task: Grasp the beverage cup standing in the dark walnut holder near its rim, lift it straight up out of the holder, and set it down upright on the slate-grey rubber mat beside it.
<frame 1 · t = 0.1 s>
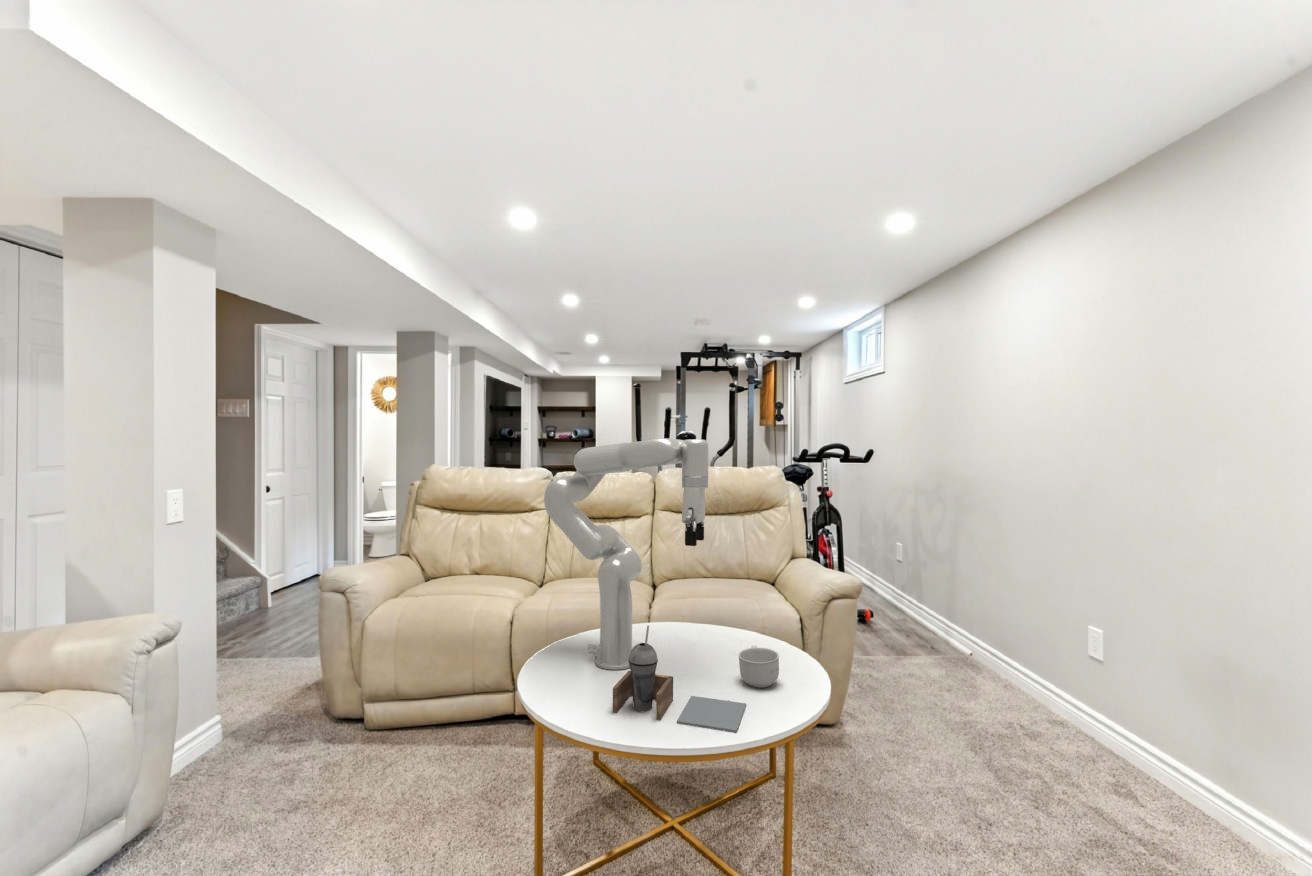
hand: (694, 542, 162), 37 cm above the table, tool pointing down, fingers open, 9 cm apart
beverage cup: (642, 708, 140), on the table
teacup: (758, 681, 156), on the table
slate mat: (712, 714, 136), on the table
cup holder: (642, 707, 140), on the table
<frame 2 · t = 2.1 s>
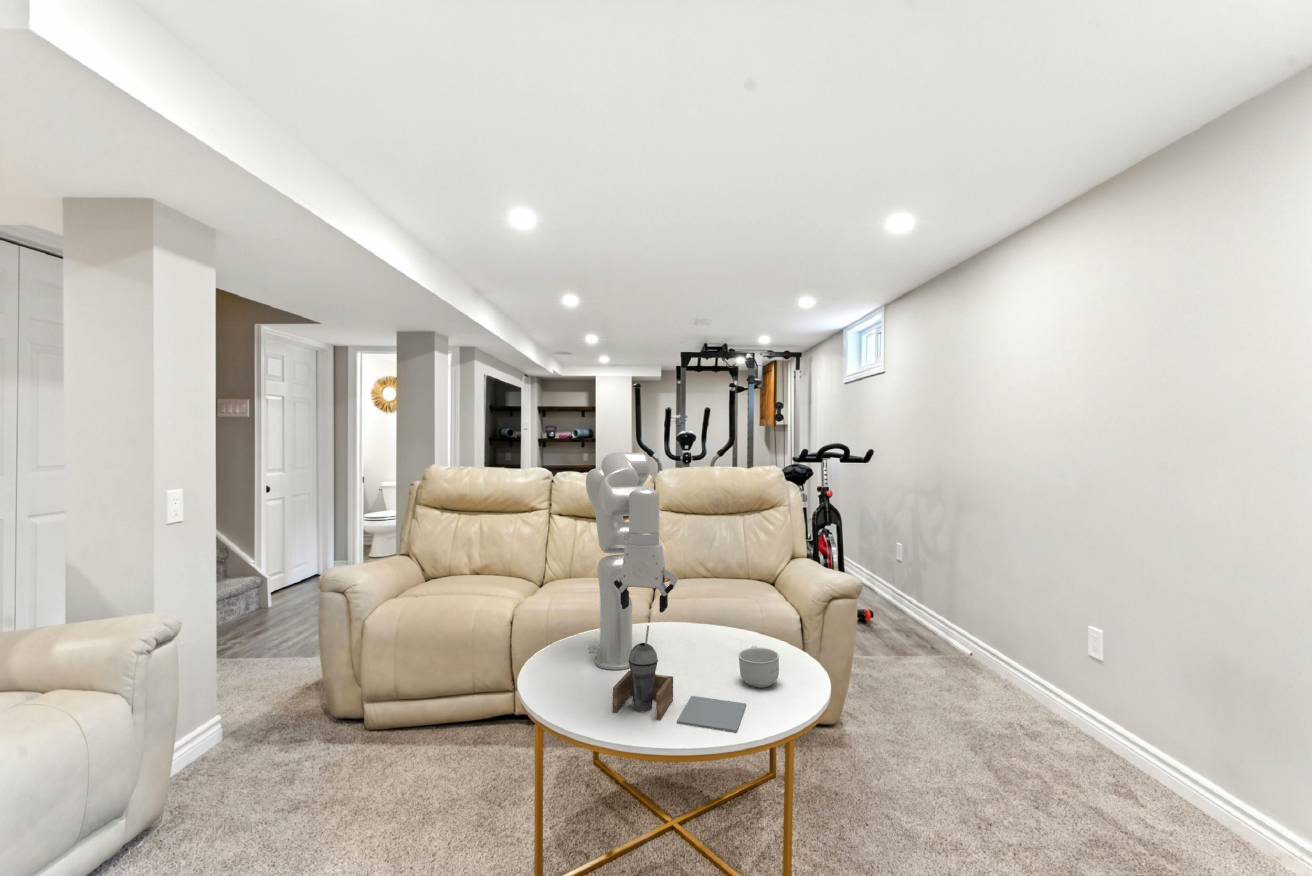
hand: (643, 609, 139), 24 cm above the table, tool pointing down, fingers open, 9 cm apart
nothing on the table moved.
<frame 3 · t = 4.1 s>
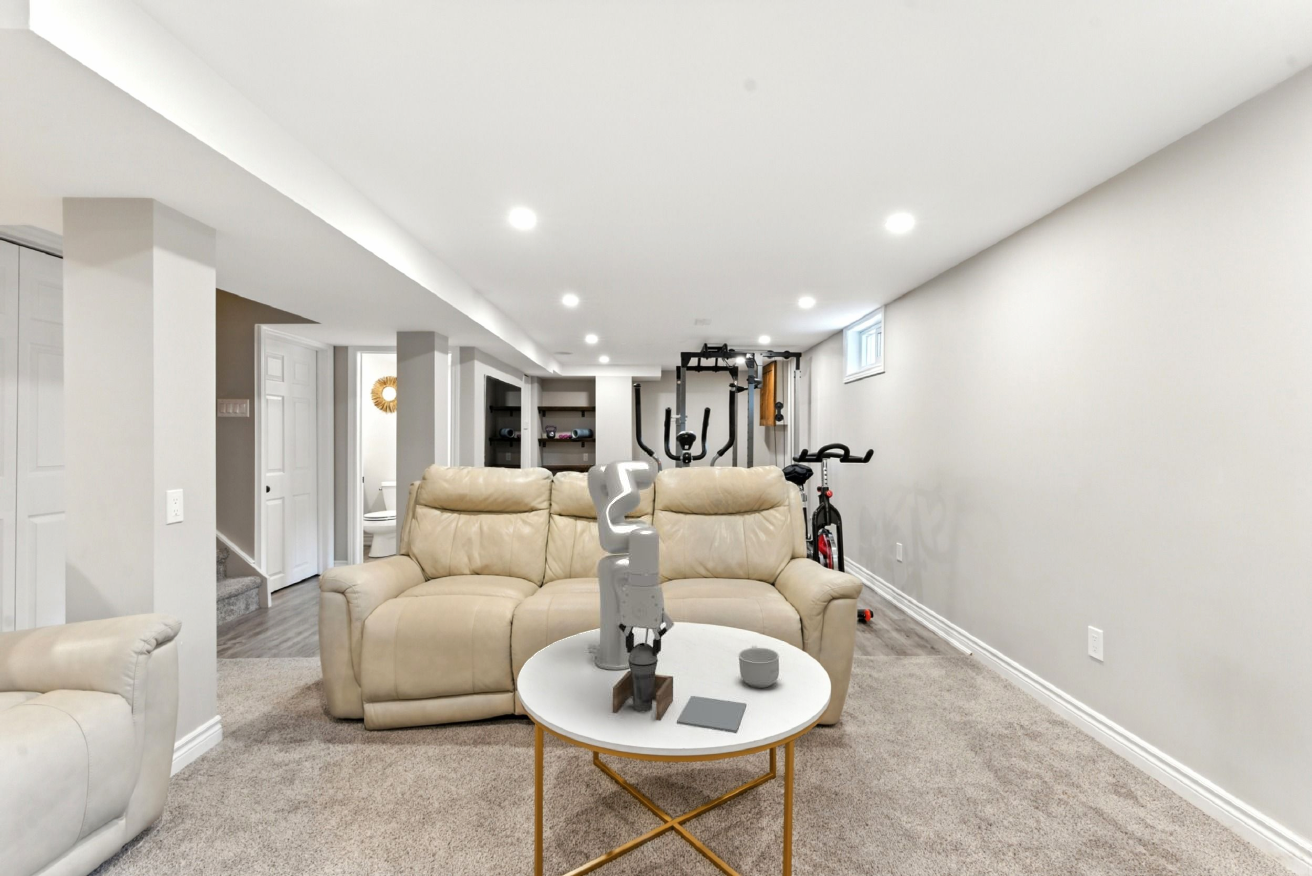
hand: (643, 651, 140), 14 cm above the table, tool pointing down, fingers closed on beverage cup, 6 cm apart
beverage cup: (643, 708, 140), on the table, touching gripper
everything else where it was.
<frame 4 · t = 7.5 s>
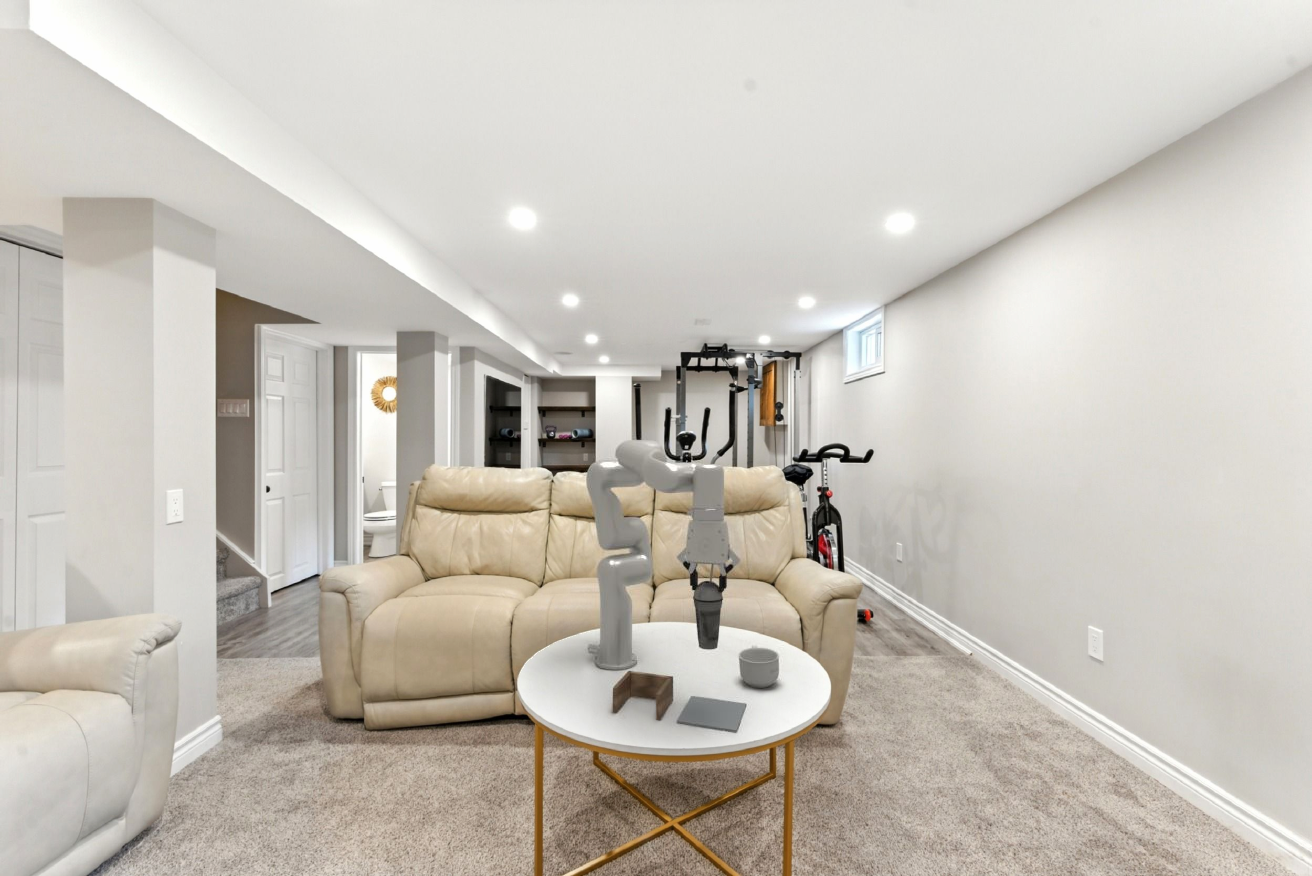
hand: (708, 589, 137), 30 cm above the table, tool pointing down, fingers closed on beverage cup, 6 cm apart
beverage cup: (708, 647, 137), point 16 cm above the table, touching gripper
everything else where it was.
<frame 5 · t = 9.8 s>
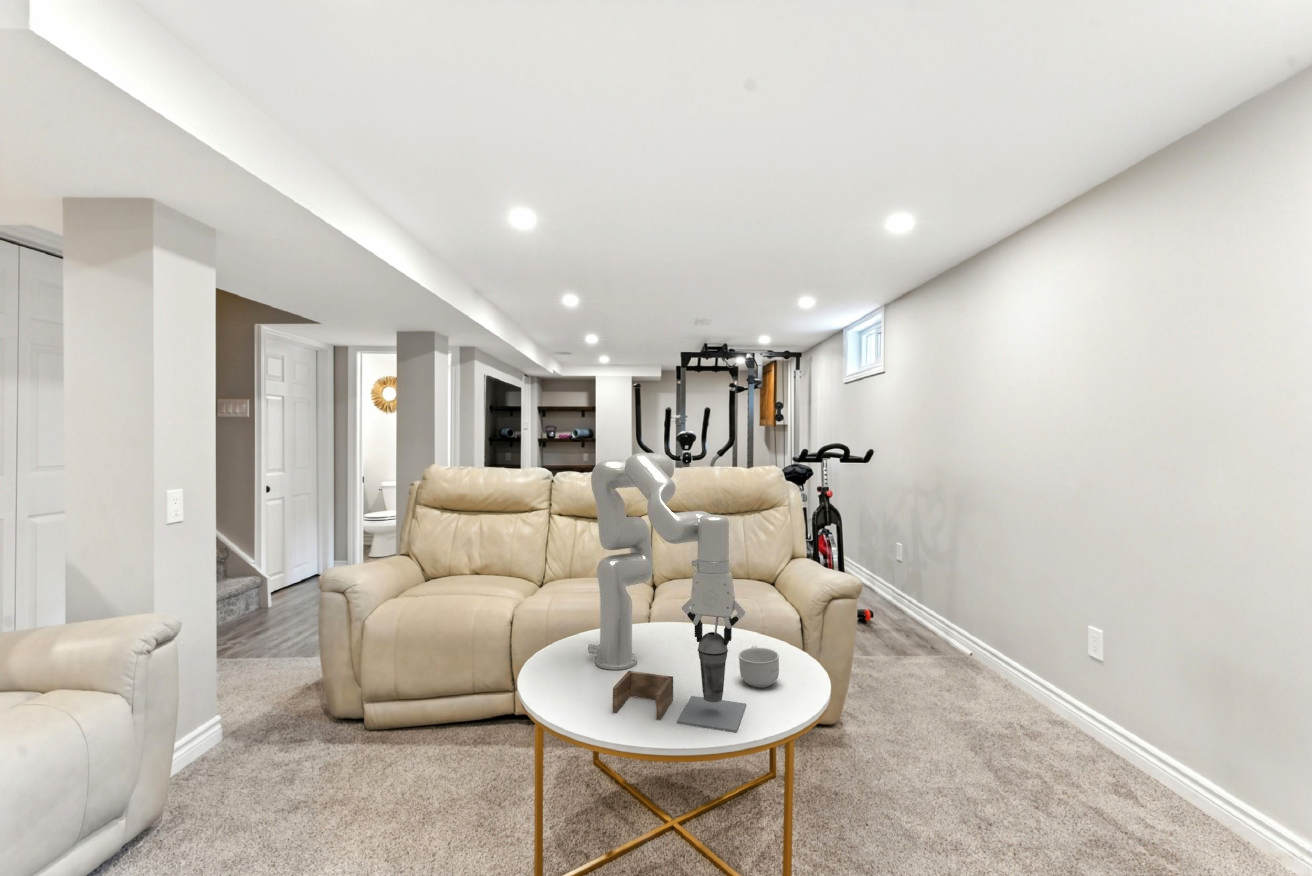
hand: (713, 641, 137), 17 cm above the table, tool pointing down, fingers closed on beverage cup, 6 cm apart
beverage cup: (712, 699, 136), point 4 cm above the table, touching gripper
everything else where it was.
when the fingers open (15 cm above the table, at t = 11.3 s): beverage cup stays where it is, resting on slate mat.
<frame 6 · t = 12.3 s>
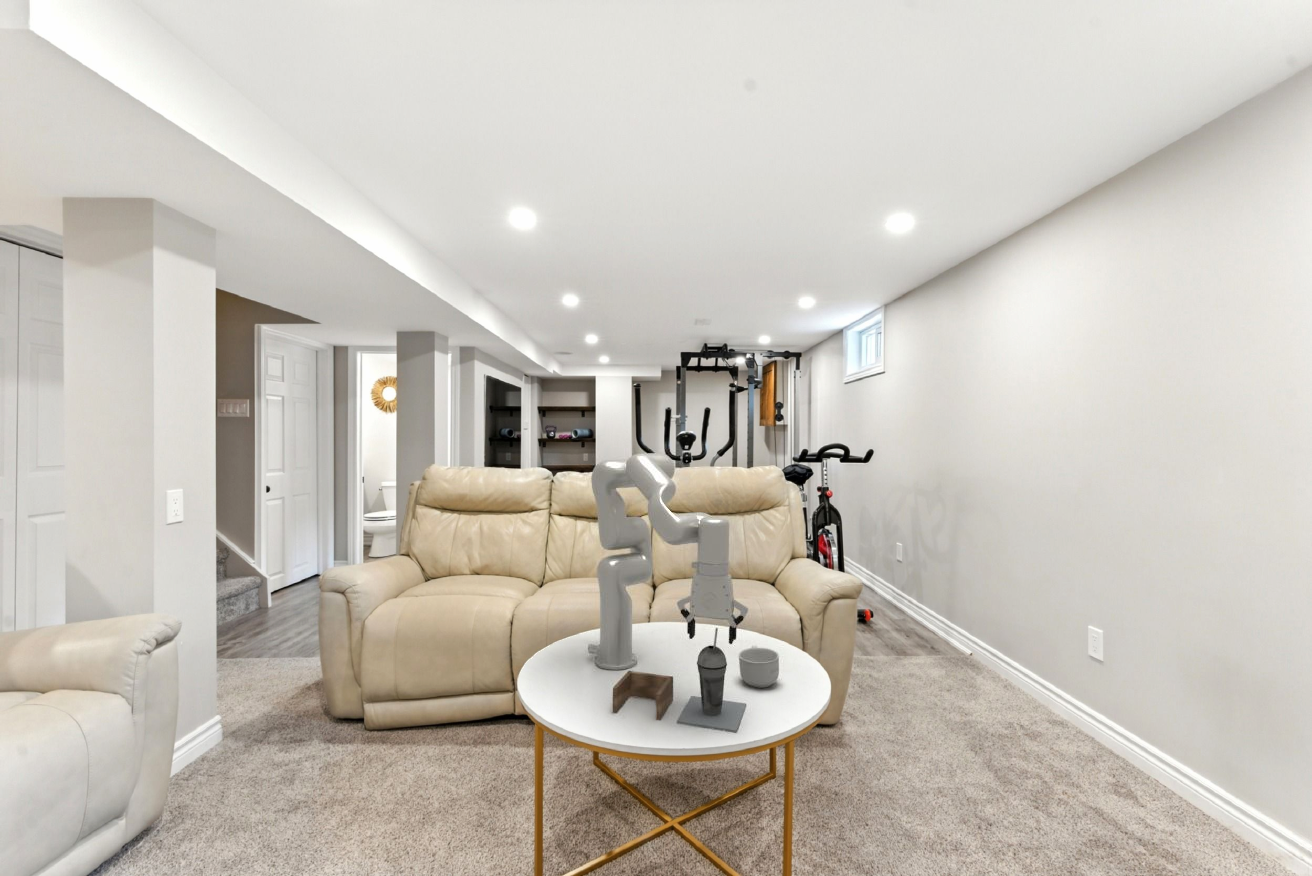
hand: (711, 639, 137), 18 cm above the table, tool pointing down, fingers open, 9 cm apart
beverage cup: (711, 712, 137), resting on slate mat
everything else where it was.
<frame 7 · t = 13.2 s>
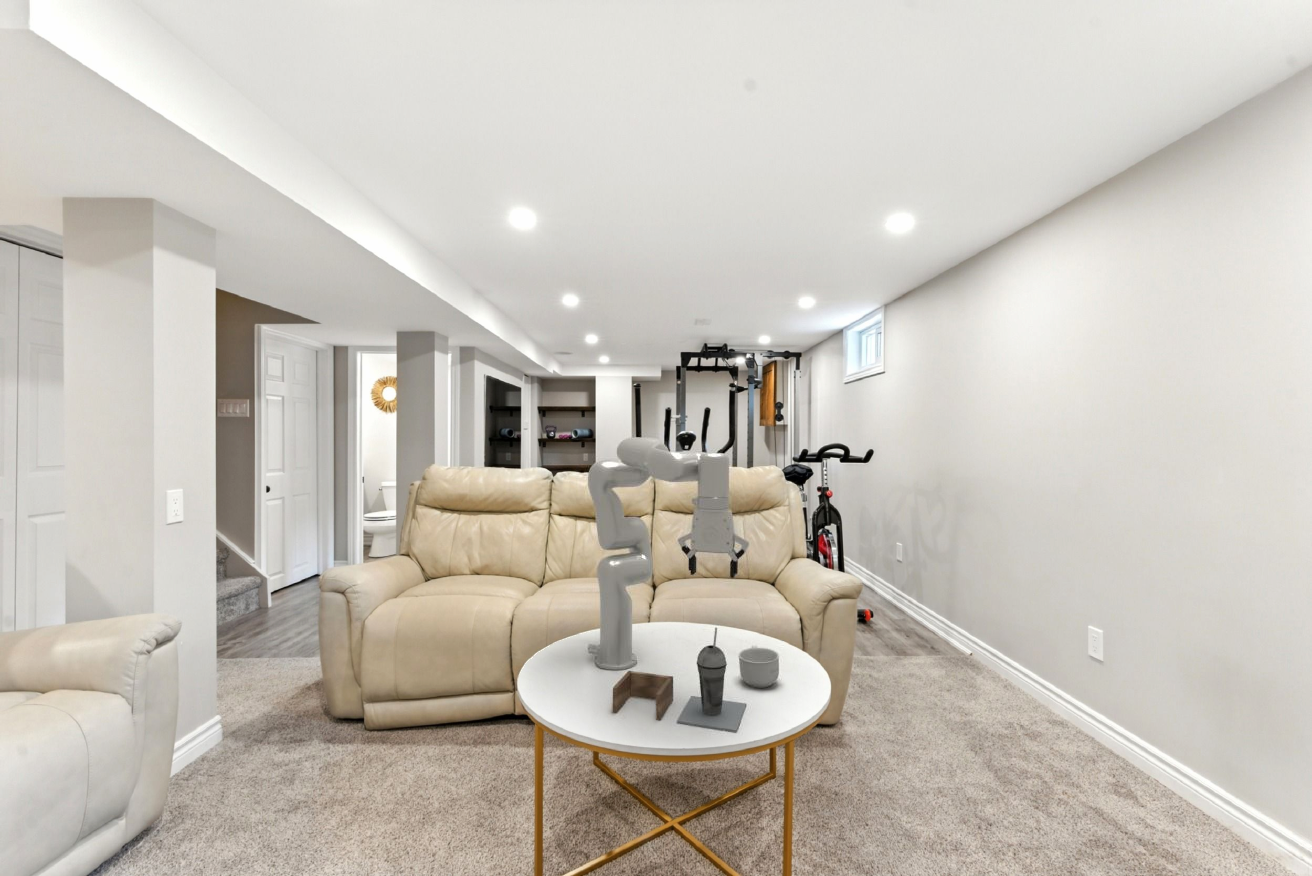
hand: (712, 575, 137), 33 cm above the table, tool pointing down, fingers open, 9 cm apart
nothing on the table moved.
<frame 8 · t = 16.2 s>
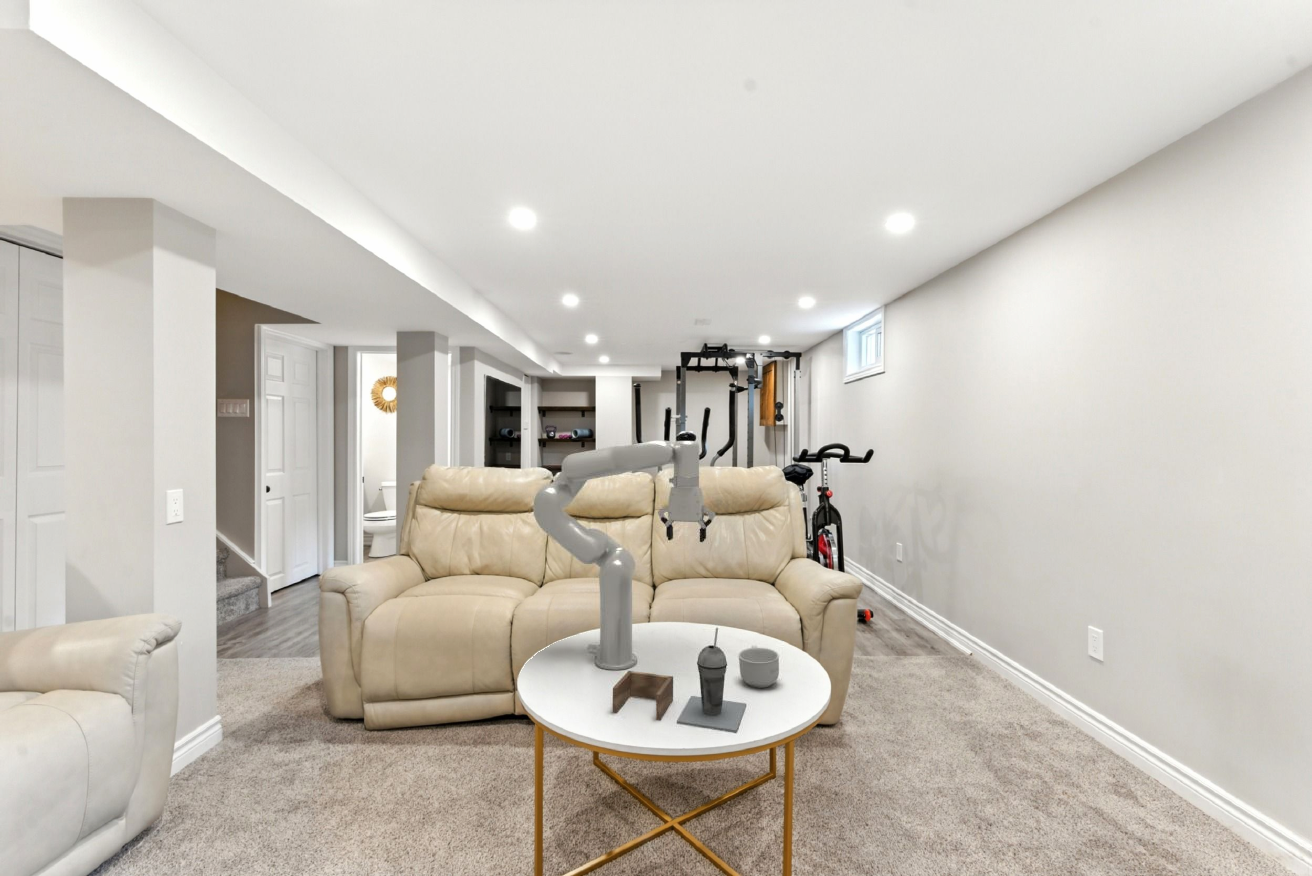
hand: (686, 540, 168), 36 cm above the table, tool pointing down, fingers open, 9 cm apart
nothing on the table moved.
at the end: beverage cup inside the target area on the slate mat (0.3 cm from its centre), point 0.3 cm above the slate mat's base; beverage cup tilted 0°; the gripper is holding nothing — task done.
